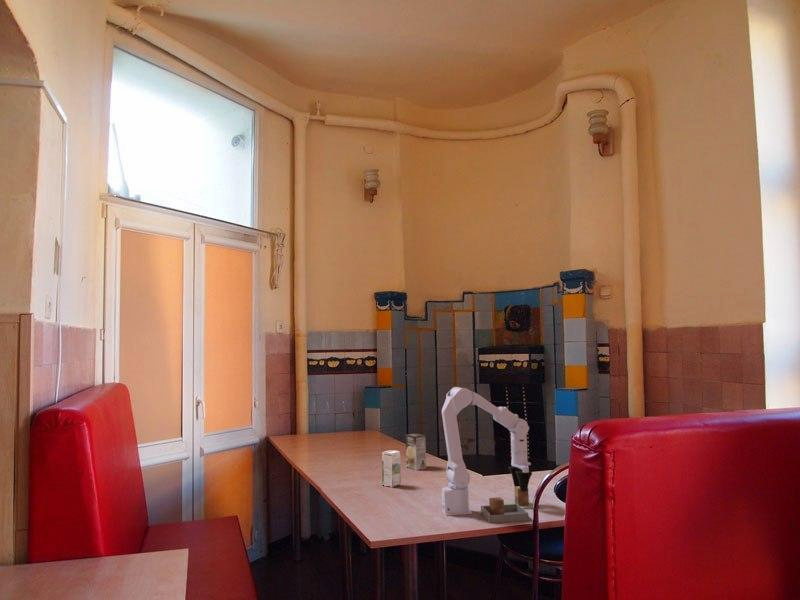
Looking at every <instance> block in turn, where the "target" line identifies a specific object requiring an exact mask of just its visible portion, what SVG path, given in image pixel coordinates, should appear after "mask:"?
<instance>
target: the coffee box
mask: <svg viewBox="0 0 800 600" xmlns="http://www.w3.org/2000/svg"><path fill="white" fill-rule="evenodd" d="M404 436H405V467H406V468H407V467H408V468H407V469H410V468H411V470H413V471H420V469H421V470H425V469H427V453H426V452H427V447H426V446H427V445H426V440H427V439H426V435H424V434H421V433H408V434H405V435H404Z"/></svg>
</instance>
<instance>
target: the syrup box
mask: <svg viewBox="0 0 800 600" xmlns="http://www.w3.org/2000/svg"><path fill="white" fill-rule="evenodd" d="M381 471H382V473H381V474H382V478H381V480H382V481H381V482H382V484H381V485H382V486H383V485H384V486H383V487H386V486H390V487H389V488H395V487H398V486H401V485H402V484H401V478H402V477H401V451H400V450H395V449H393V450H390V449H389V450H386V451H382V453H381ZM400 484H401V485H400ZM397 485H398V486H397ZM394 486H395V487H394Z"/></svg>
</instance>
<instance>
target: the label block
mask: <svg viewBox="0 0 800 600" xmlns="http://www.w3.org/2000/svg"><path fill="white" fill-rule="evenodd" d="M529 495H530V494H529V488H528V489H527V491H523V492H522V491H521V490H520V486H516V487H515V486H514V501H515V504H518V505H519V506H528V505H529V500H530V498H529Z"/></svg>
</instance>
